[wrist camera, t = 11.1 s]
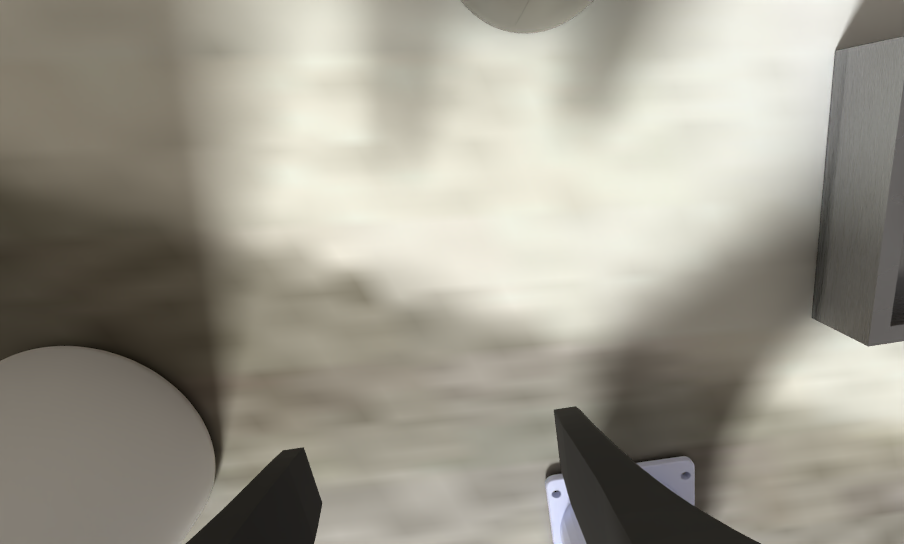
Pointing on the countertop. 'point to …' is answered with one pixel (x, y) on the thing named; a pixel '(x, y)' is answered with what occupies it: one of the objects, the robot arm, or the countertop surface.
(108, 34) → the countertop surface
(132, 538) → the cylinder vase
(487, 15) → the supplement bottle
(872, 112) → the square metal tray
